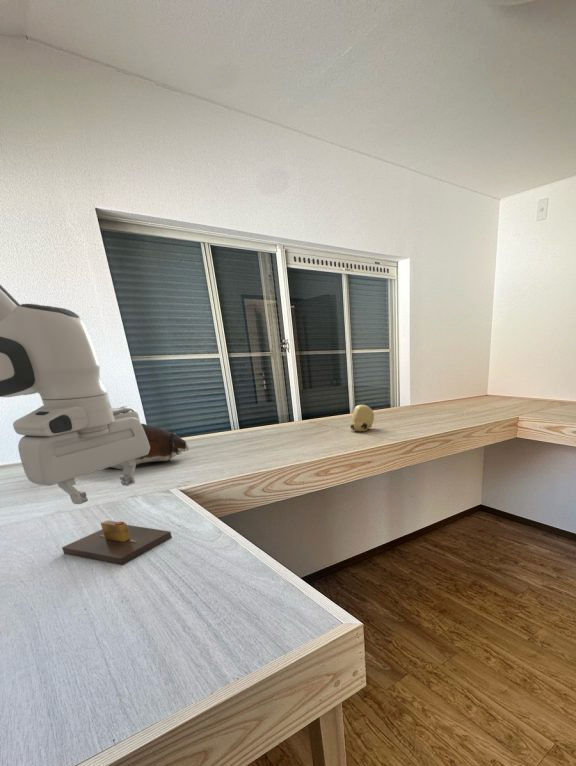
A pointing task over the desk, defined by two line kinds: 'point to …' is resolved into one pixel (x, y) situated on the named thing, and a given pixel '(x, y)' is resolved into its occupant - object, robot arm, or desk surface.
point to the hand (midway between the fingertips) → (106, 493)
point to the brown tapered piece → (160, 446)
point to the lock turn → (115, 531)
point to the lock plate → (117, 545)
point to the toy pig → (362, 418)
